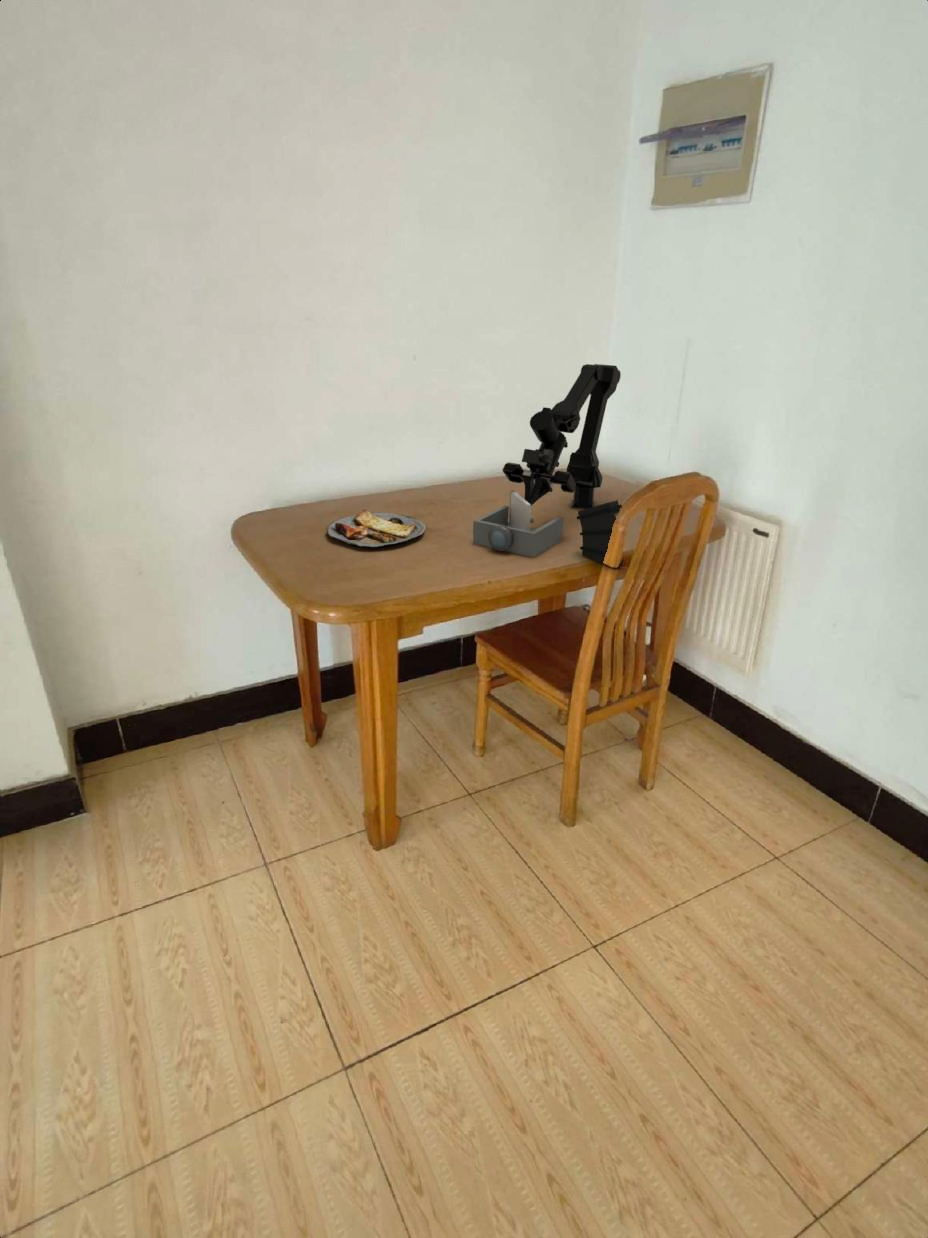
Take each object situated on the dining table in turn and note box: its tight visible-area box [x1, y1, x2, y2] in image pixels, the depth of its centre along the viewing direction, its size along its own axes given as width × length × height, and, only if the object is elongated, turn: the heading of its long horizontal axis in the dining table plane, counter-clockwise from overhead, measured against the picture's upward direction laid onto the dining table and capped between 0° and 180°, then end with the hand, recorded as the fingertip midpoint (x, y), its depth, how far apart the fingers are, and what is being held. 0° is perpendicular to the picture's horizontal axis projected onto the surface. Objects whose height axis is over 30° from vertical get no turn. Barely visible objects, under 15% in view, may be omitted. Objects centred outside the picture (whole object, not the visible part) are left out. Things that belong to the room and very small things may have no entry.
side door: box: [508, 490, 535, 531], centre depth 184 cm, size 13×2×9 cm, turn 16°
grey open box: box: [472, 505, 565, 559], centre depth 181 cm, size 18×17×7 cm
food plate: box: [325, 509, 426, 548], centre depth 187 cm, size 25×23×4 cm
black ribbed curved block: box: [576, 499, 624, 568], centre depth 169 cm, size 4×13×15 cm, turn 36°
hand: (526, 506), depth 181 cm, fingers closed
